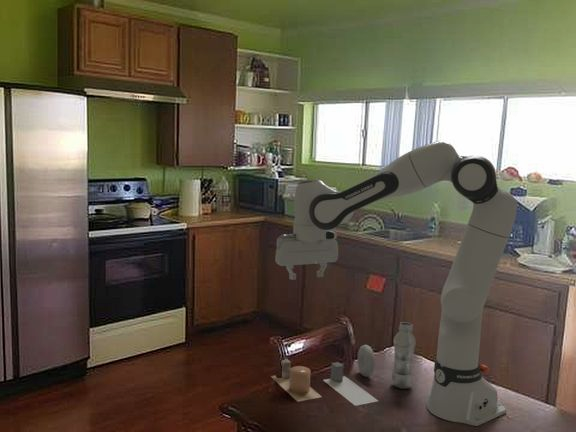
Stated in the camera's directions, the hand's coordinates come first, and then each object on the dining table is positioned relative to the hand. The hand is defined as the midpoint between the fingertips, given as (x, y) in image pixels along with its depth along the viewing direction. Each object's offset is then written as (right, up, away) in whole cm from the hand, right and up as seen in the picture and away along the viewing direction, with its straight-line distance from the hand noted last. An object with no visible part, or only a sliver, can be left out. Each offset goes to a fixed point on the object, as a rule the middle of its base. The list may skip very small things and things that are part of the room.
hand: (306, 278), depth 167 cm
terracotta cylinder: (-2, -32, -7) cm, 33 cm away
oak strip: (-3, -33, -4) cm, 33 cm away
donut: (+19, -33, +9) cm, 39 cm away
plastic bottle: (+29, -34, +2) cm, 45 cm away
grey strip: (+13, -34, -5) cm, 36 cm away
